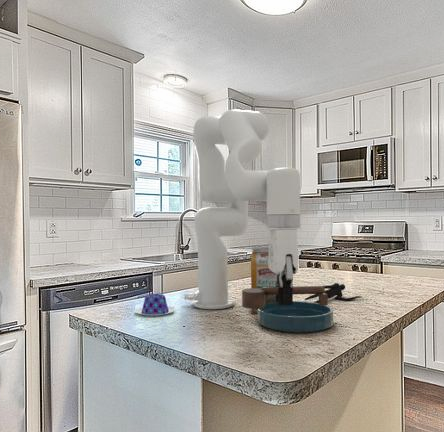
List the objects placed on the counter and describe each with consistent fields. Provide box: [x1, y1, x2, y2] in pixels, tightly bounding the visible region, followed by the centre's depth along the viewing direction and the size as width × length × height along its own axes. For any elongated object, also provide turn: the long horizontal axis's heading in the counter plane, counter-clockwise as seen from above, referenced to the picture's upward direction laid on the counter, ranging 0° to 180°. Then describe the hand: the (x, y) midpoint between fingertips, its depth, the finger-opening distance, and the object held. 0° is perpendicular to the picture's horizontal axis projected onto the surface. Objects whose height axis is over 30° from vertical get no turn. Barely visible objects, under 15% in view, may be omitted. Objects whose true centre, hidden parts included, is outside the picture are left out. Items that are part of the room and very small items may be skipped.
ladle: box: [241, 285, 329, 310], centre depth 94 cm, size 19×5×4 cm, turn 93°
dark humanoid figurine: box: [304, 282, 363, 304], centre depth 135 cm, size 8×9×25 cm
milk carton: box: [250, 246, 276, 314], centre depth 126 cm, size 10×11×19 cm
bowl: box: [257, 300, 334, 334], centre depth 109 cm, size 19×19×4 cm
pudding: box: [134, 293, 176, 317], centre depth 124 cm, size 12×12×5 cm
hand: (284, 303), depth 94 cm, fingers closed on ladle
